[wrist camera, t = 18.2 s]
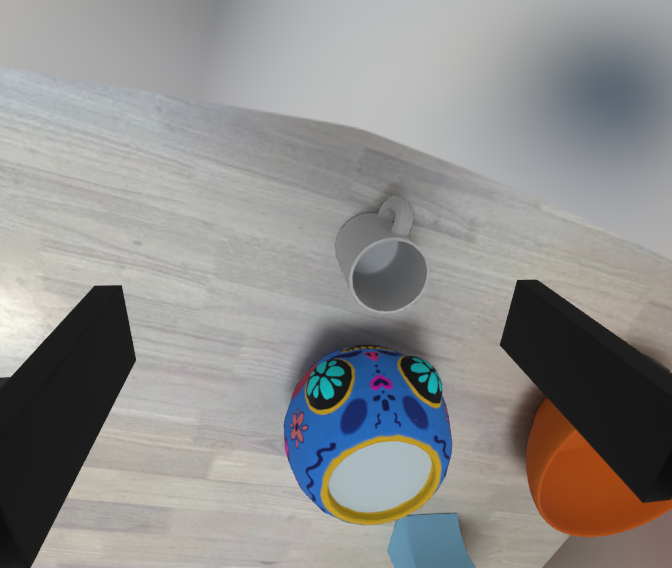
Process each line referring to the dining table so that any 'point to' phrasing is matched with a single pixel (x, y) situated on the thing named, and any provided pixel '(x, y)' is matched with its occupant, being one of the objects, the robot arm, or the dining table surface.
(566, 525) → the bowl
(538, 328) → the robot arm
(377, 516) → the ceramic pot
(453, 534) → the vase
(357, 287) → the cup
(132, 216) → the dining table surface
